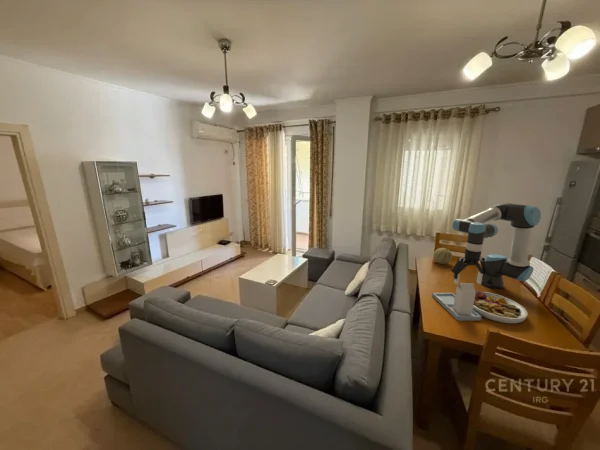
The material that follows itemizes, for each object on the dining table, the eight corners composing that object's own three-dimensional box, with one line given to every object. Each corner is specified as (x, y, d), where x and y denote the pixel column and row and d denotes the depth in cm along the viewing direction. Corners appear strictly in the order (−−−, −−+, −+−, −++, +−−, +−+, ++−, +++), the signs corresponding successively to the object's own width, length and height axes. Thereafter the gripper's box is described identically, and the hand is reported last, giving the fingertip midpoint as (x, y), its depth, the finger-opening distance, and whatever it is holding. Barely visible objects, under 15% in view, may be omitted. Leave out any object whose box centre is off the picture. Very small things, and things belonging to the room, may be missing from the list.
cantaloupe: (433, 258, 233) (435, 244, 229) (451, 262, 225) (453, 247, 221) (431, 264, 221) (433, 248, 218) (450, 267, 213) (452, 251, 210)
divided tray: (451, 295, 168) (452, 292, 167) (481, 320, 142) (481, 316, 141) (432, 296, 167) (432, 292, 167) (457, 320, 141) (458, 316, 141)
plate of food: (534, 316, 146) (537, 304, 144) (512, 333, 132) (515, 320, 130) (478, 293, 171) (481, 283, 169) (455, 305, 157) (457, 294, 155)
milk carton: (471, 315, 144) (477, 286, 139) (458, 314, 145) (463, 285, 140) (465, 308, 151) (470, 281, 146) (453, 307, 152) (457, 280, 147)
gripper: (489, 246, 142) (483, 279, 147) (447, 247, 142) (442, 280, 147) (500, 251, 135) (493, 285, 140) (456, 252, 134) (450, 286, 140)
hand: (467, 283), depth 144 cm, fingers open, 13 cm apart
